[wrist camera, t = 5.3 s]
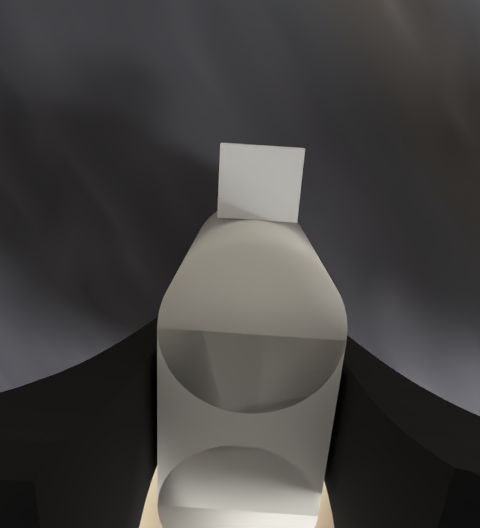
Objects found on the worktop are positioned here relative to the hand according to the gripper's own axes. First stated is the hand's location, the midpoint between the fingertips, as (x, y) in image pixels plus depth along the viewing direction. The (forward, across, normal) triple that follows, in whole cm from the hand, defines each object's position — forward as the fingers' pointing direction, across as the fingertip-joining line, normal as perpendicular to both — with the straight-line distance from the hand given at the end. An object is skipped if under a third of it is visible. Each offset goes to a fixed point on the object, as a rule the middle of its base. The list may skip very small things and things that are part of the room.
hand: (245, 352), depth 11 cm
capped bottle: (+2, 0, 0) cm, 2 cm away
